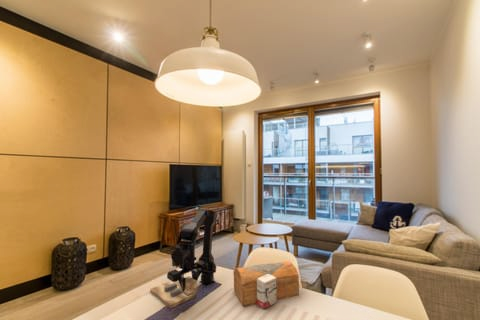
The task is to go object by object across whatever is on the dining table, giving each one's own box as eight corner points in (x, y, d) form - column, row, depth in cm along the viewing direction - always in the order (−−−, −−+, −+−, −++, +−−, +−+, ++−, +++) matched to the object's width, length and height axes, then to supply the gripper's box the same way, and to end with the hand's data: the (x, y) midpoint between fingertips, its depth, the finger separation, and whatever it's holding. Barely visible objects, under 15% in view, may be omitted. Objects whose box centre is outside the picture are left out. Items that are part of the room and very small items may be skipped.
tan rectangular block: (188, 286, 112) (188, 276, 112) (197, 292, 107) (197, 281, 108) (179, 290, 109) (179, 279, 109) (187, 296, 104) (187, 285, 104)
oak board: (174, 282, 129) (174, 279, 129) (195, 296, 115) (196, 293, 115) (150, 291, 119) (150, 288, 119) (170, 308, 105) (170, 305, 105)
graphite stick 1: (175, 286, 121) (175, 282, 121) (177, 288, 120) (177, 284, 120) (164, 291, 117) (164, 286, 117) (166, 292, 116) (166, 288, 116)
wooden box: (242, 308, 105) (242, 277, 106) (233, 290, 121) (233, 263, 122) (301, 298, 114) (300, 269, 114) (285, 282, 130) (284, 257, 130)
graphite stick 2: (181, 290, 117) (181, 286, 117) (183, 292, 116) (183, 288, 116) (170, 295, 113) (170, 291, 113) (172, 297, 112) (172, 293, 112)
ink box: (264, 309, 104) (264, 282, 104) (256, 304, 107) (256, 278, 108) (276, 302, 109) (276, 276, 110) (269, 297, 113) (269, 273, 113)
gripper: (195, 246, 121) (194, 276, 120) (161, 255, 107) (160, 290, 107) (208, 251, 113) (208, 284, 113) (173, 262, 100) (173, 299, 99)
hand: (188, 289), depth 108 cm, fingers closed on tan rectangular block, 5 cm apart
